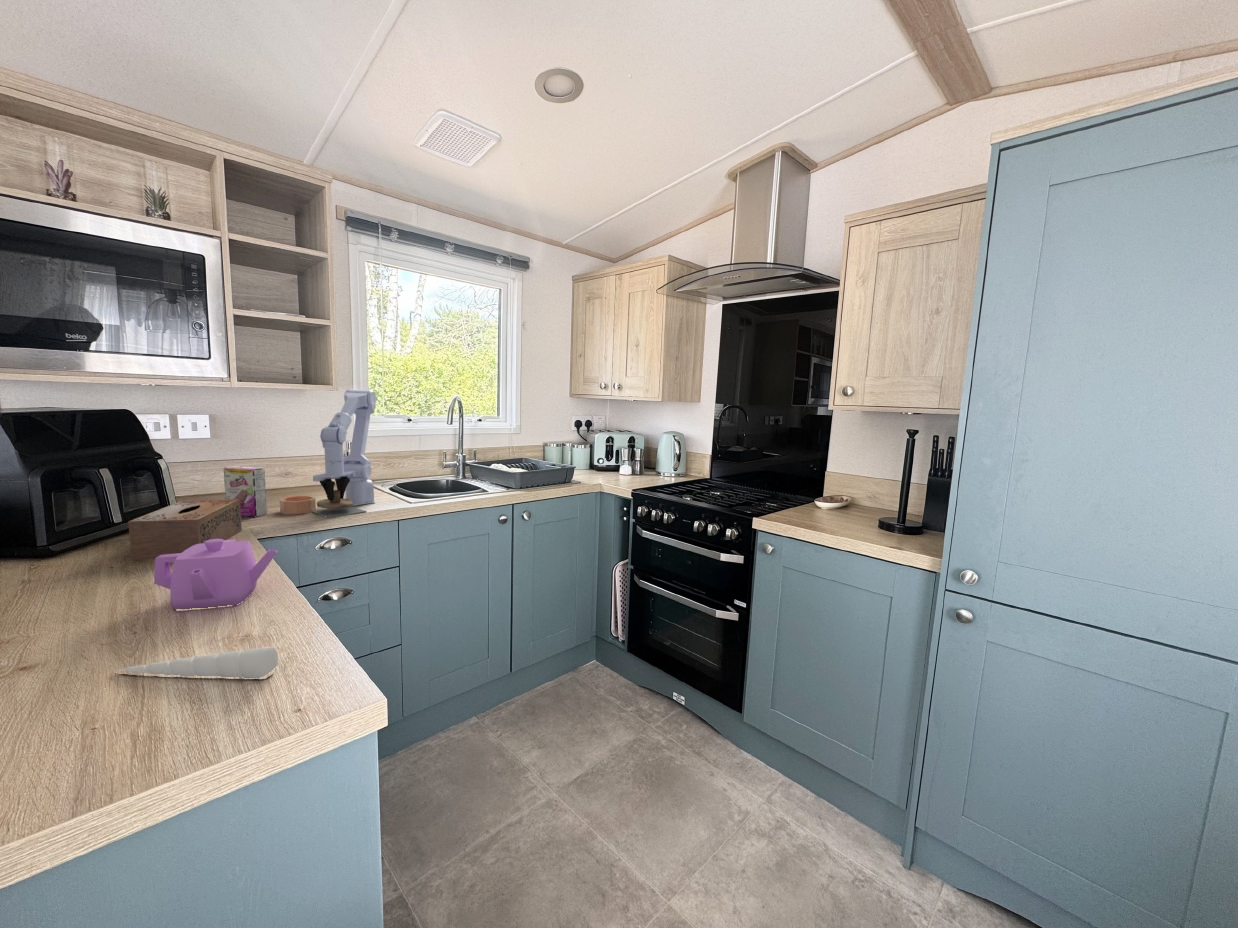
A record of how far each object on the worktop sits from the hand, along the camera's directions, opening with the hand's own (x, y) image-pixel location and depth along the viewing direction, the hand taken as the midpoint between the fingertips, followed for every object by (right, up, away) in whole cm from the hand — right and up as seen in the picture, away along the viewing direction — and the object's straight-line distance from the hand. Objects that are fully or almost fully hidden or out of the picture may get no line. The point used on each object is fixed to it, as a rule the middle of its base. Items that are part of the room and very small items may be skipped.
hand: (335, 499), depth 184 cm
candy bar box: (-26, -5, -7) cm, 28 cm away
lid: (0, -2, 0) cm, 2 cm away
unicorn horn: (+36, -20, -104) cm, 112 cm away
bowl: (-14, -4, +1) cm, 14 cm away
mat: (0, -5, +1) cm, 5 cm away
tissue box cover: (-18, -10, -40) cm, 45 cm away
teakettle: (+17, -16, -75) cm, 78 cm away
